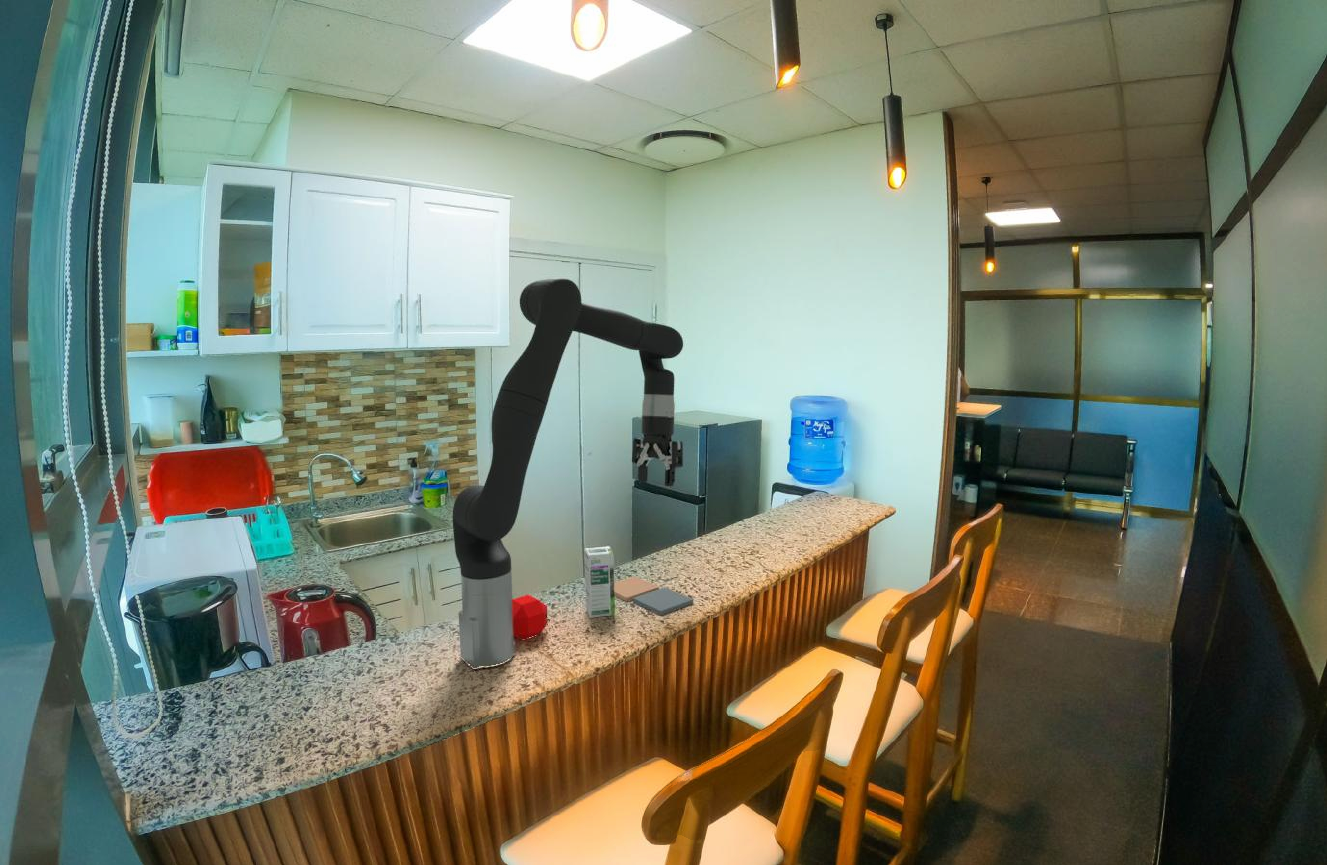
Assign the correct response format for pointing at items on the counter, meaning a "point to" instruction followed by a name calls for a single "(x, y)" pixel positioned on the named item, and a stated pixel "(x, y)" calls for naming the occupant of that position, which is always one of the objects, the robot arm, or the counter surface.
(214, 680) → the counter surface
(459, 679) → the counter surface
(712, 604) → the counter surface
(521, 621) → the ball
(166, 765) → the counter surface
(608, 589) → the syrup box
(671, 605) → the slate tile
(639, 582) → the terracotta tile
